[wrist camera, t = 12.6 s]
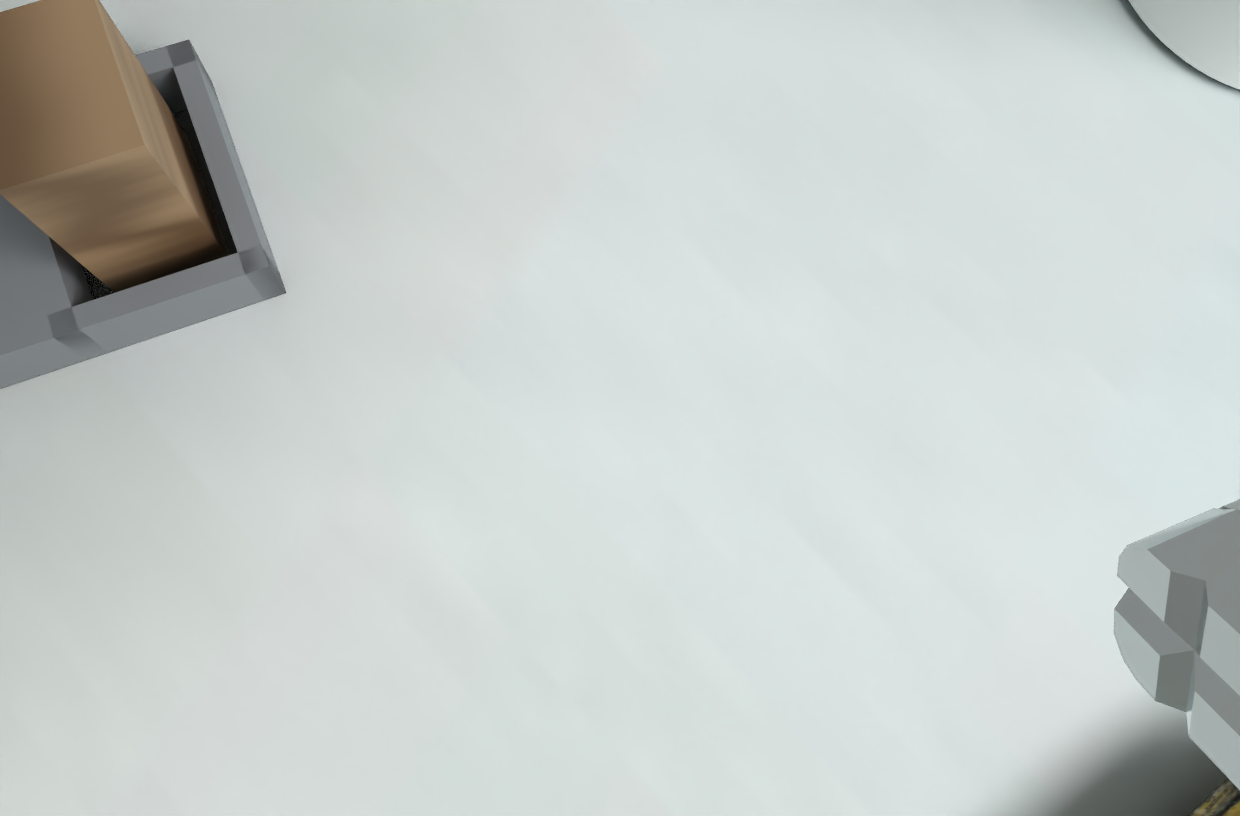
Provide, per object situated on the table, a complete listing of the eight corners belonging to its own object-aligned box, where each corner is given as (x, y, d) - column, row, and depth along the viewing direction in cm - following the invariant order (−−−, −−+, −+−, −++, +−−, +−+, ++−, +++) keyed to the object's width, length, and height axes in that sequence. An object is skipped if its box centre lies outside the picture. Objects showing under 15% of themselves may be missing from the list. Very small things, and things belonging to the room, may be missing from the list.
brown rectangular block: (184, 124, 42) (84, -30, 33) (231, 261, 42) (144, 144, 32) (73, 159, 42) (-61, 12, 32) (120, 297, 41) (-4, 191, 31)
